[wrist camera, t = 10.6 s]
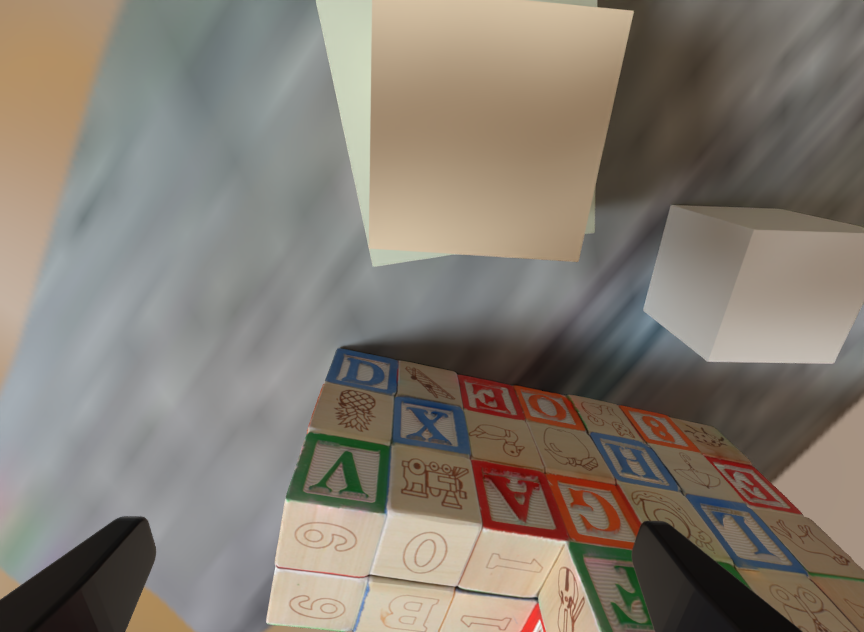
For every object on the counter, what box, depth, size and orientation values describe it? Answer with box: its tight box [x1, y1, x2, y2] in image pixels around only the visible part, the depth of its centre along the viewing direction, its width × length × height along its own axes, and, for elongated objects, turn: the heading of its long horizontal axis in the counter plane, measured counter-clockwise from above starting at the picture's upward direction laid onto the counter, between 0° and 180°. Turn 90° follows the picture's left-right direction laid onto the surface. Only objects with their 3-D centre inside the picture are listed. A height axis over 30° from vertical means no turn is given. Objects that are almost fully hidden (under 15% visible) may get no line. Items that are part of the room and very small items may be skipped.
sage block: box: [316, 0, 597, 267], centre depth 15 cm, size 8×8×4 cm
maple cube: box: [369, 0, 634, 262], centre depth 11 cm, size 5×5×5 cm
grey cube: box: [643, 205, 864, 364], centre depth 17 cm, size 5×5×5 cm
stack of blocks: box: [266, 348, 864, 632], centre depth 18 cm, size 21×6×12 cm, turn 75°
